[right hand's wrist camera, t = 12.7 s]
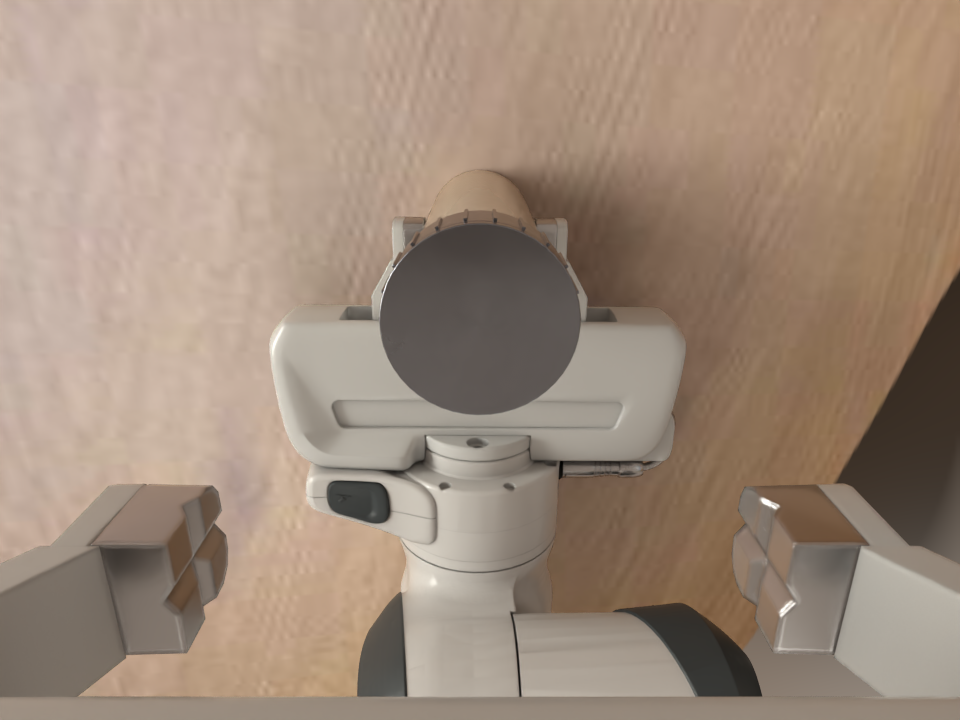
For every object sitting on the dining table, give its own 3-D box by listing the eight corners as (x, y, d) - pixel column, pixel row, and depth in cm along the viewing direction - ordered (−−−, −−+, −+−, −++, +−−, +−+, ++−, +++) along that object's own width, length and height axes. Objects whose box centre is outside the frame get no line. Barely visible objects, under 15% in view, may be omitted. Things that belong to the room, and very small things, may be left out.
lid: (539, 406, 23) (545, 438, 21) (367, 360, 23) (355, 388, 21) (599, 239, 21) (613, 256, 19) (412, 183, 21) (404, 193, 18)
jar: (511, 278, 38) (536, 419, 21) (420, 252, 38) (373, 374, 21) (541, 186, 36) (593, 261, 20) (446, 157, 36) (416, 208, 19)
